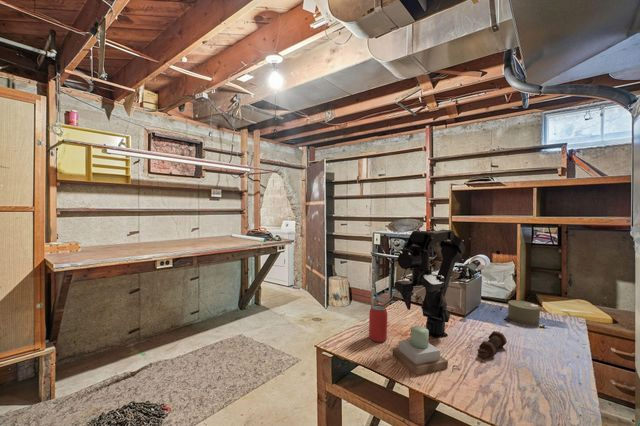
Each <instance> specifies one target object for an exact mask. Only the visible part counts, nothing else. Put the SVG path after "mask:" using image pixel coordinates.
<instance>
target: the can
mask: <svg viewBox="0 0 640 426" xmlns="http://www.w3.org/2000/svg"><path fill="white" fill-rule="evenodd" d="M507 304H508V306H507V317H508V319H509V320H512V321H514V322H515V323H519V324H523V325H524V324H525V325H531V326H532V325H534V326H535V324H536V325H539V324H540V316H541V306H540V305H539V304H537V303H533V302H529V301H527V300H526V301H525V300H520V299H512V300H508V301H507Z"/></svg>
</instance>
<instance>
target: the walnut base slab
mask: <svg viewBox="0 0 640 426" xmlns="http://www.w3.org/2000/svg"><path fill="white" fill-rule="evenodd" d="M392 356H393V357H394V358H395V359H397V360H398V361H399V362H400V363H401V364H402V365H403V366H405V367H406V368H407V369H408V370H409V371H411V372H412V373H413V374H414V375H415V376H419V375H424V374H426V373H427V374H428V373H430V372H431V373H432V372H435V371H440V370H445V369H448V367H449V365H448V363H449V361H448V360H447V359H445V358H444V357H443V356H441V355H440V360H436V361H431V362H426V363H420V364H415V363H413V362H412V361H411V360H410V359H409V358H407V357H406V356H405V355H404V354H403V353H402V352H400V351H399V347H395V348H392Z"/></svg>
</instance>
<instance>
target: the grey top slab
mask: <svg viewBox="0 0 640 426" xmlns="http://www.w3.org/2000/svg"><path fill="white" fill-rule="evenodd" d="M398 348H399V351H400V352H402V353H403V354H404V355H405V356H406V357H407V358H409V359H410V360H411V361H412V362H413V363H415V364H420V363H426V362H431V361H436V360H440V356H441V350H440V349H439V348H437V347H436V346H434V345H432V344H431V343H430V342H428V348H427V349H418V348H415V347H413V346H411V344H410V339H405V340H399V341H398Z"/></svg>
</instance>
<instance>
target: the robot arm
mask: <svg viewBox="0 0 640 426" xmlns="http://www.w3.org/2000/svg"><path fill="white" fill-rule="evenodd" d="M436 243H438V245H439V248H440V254H441V257H442V259H441V263H440V267H439V269H438V272H437V275H433V271H432V269H430V253H432V252H433V250H432V249H431V247H433V246H434V245H435V244H436ZM465 250H466V247H465V244H464V242H463V240H462V238H460V237H459V236H457V234H455V232H454V230H452V229H451V230H450V229H440V230H433V231H424V230H423V231H422V230H412V231H411V233H410V234H409V237H408V239H407V242H406V244H405V246H404V248H403V249H402V252H401V253H400V254H399V255H398V257H397V259H396V260H397V264H398V266H399V267H400V268H401V269H402V270H409V271H411V277H409V281H407V280H396V281H395V282H394V285H393V289H394V290H396V291H397V292H399V293H400V295H401V297H402V299H403V302H404V304H405V307H406V309H407V310H408V311H410V310H411V308H412V307H411V306H412V296H413V295H414V292H413V291H414V289H417V288H425V294H424V297H423V300H422V303H421V309H422V316H423V317H426V321H425V322H426V323H425V328H426V329H428V330H429V336H430V337H432V338H434V339H438V338H443V337H447V336H448V335H449V334H448V333H446V330H445V329H446V323H450V322H449V321H450V319H451V314H450V312H449V311H448V308H447V306H448V304H447V300H446V295H447V294H446V293H447V291H448V290H447V289H448V287H449V283H450V281H451V277H452V274H453V272H454V271H453V270H454V267H455V264H457V262H458V261H460V260H461V259H462V258H463V255H464V253H465Z"/></svg>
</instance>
